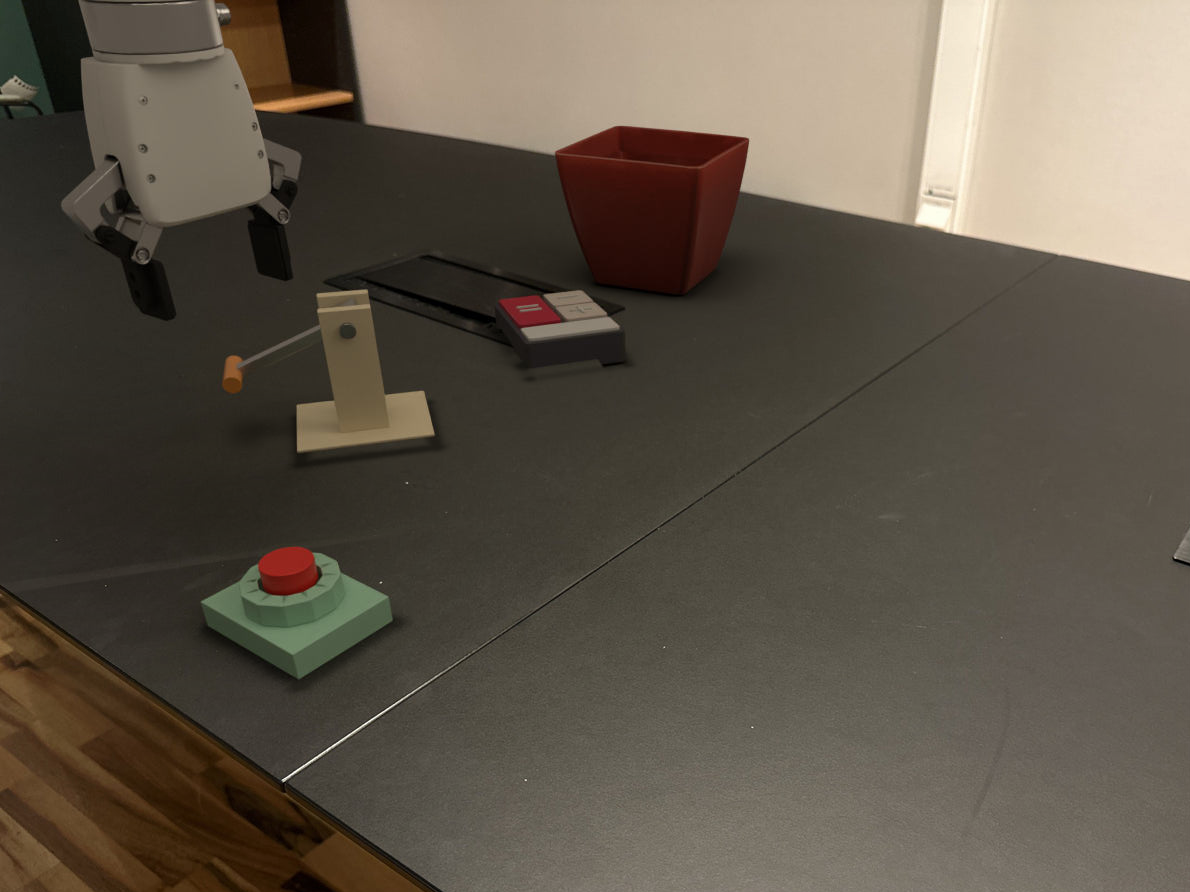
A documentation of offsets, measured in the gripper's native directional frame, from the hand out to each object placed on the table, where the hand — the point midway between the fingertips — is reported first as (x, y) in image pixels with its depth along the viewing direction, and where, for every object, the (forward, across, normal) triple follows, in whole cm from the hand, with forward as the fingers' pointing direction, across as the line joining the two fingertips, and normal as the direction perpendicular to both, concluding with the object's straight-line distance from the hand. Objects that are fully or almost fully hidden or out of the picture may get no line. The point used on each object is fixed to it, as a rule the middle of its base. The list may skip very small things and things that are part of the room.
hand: (220, 295), depth 75 cm
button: (+16, +8, +12) cm, 21 cm away
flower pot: (+20, -69, -9) cm, 73 cm away
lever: (+11, -13, -10) cm, 20 cm away
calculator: (+20, -43, -5) cm, 48 cm away
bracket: (+19, -16, -7) cm, 26 cm away
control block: (+19, +8, +12) cm, 24 cm away
